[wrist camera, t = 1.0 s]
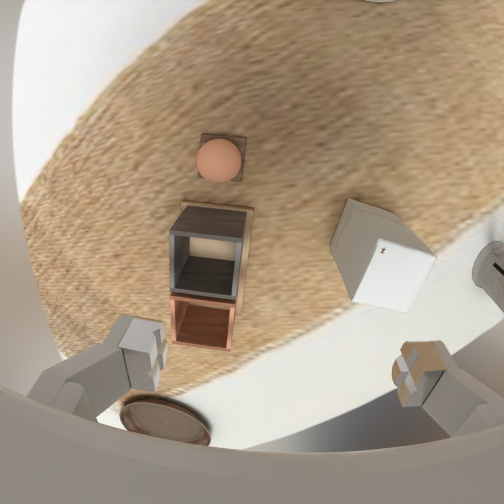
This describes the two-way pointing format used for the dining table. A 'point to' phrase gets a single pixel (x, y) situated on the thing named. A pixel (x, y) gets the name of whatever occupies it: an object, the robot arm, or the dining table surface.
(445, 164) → the dining table surface
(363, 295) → the supplement box
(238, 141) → the ball stand
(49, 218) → the dining table surface
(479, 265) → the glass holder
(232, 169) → the ball
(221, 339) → the stacked cubby shelf
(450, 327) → the dining table surface
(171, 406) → the plant saucer
